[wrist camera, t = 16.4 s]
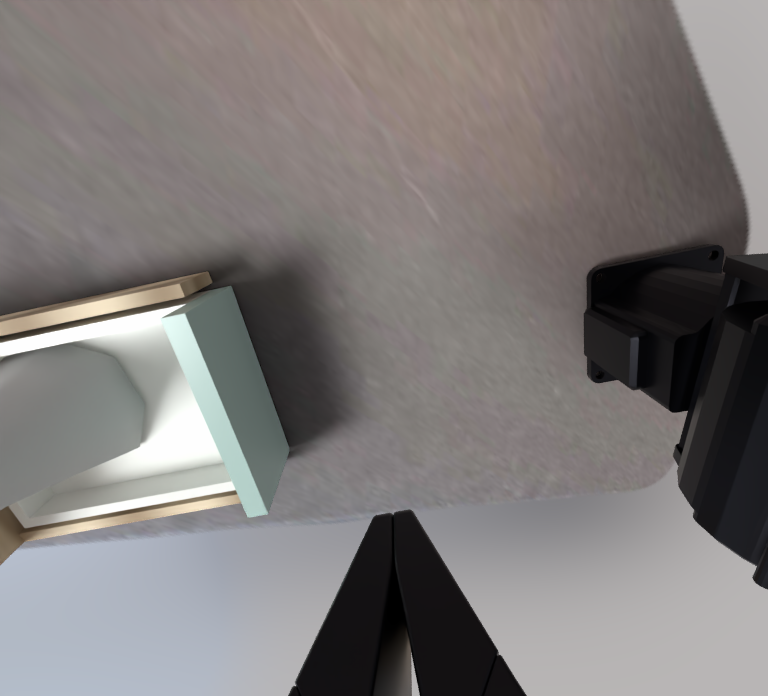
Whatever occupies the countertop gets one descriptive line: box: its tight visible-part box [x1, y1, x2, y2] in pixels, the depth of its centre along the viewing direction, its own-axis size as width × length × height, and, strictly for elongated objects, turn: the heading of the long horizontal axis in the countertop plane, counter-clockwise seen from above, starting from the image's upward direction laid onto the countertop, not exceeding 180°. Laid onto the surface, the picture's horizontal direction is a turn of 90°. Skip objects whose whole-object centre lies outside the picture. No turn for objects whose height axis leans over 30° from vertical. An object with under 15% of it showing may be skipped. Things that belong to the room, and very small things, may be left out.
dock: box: [0, 271, 241, 565], centre depth 18 cm, size 15×12×8 cm
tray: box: [0, 286, 290, 528], centre depth 19 cm, size 15×10×5 cm
